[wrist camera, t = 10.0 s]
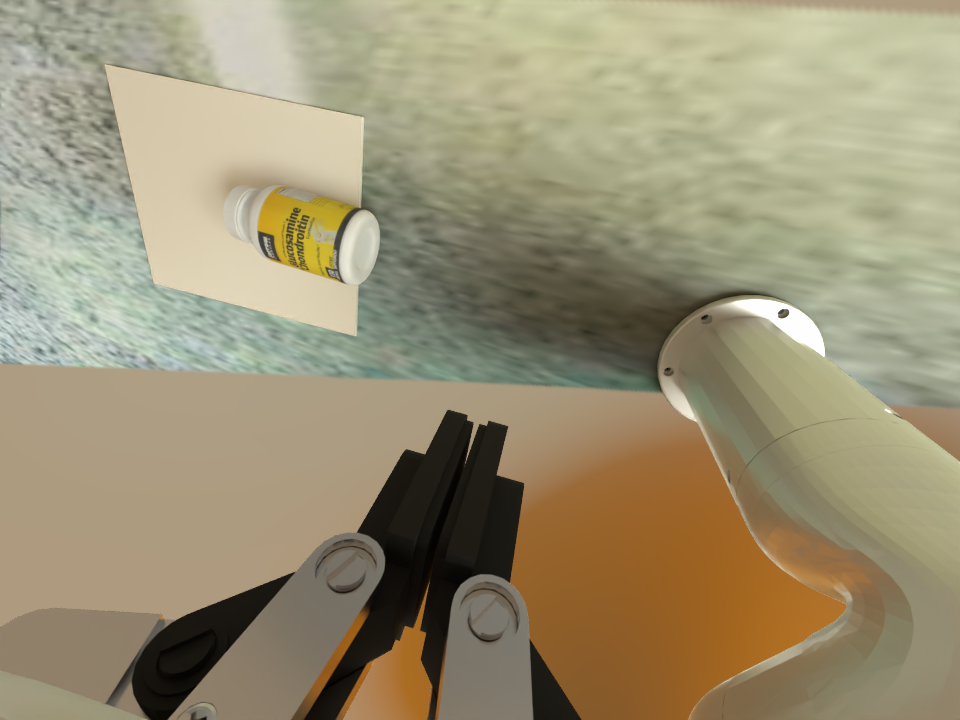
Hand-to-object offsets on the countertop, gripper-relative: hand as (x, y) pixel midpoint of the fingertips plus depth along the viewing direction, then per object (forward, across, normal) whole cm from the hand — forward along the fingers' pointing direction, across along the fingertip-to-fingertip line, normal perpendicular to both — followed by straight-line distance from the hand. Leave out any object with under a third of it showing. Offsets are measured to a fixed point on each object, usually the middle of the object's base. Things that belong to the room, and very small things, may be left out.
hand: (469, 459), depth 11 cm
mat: (+27, +29, +2) cm, 40 cm away
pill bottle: (+24, +14, +2) cm, 27 cm away
